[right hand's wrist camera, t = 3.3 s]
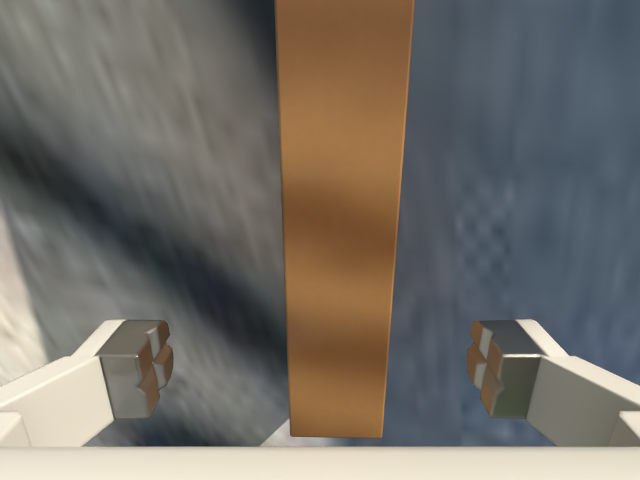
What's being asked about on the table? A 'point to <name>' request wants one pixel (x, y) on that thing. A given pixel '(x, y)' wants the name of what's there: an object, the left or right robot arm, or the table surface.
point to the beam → (340, 203)
